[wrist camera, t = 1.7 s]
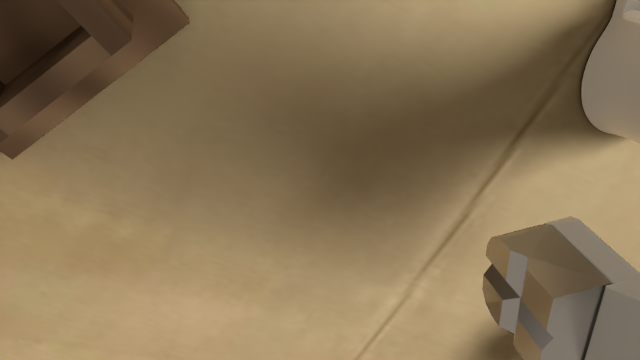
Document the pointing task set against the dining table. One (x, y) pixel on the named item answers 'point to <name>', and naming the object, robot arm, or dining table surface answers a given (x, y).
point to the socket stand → (70, 57)
